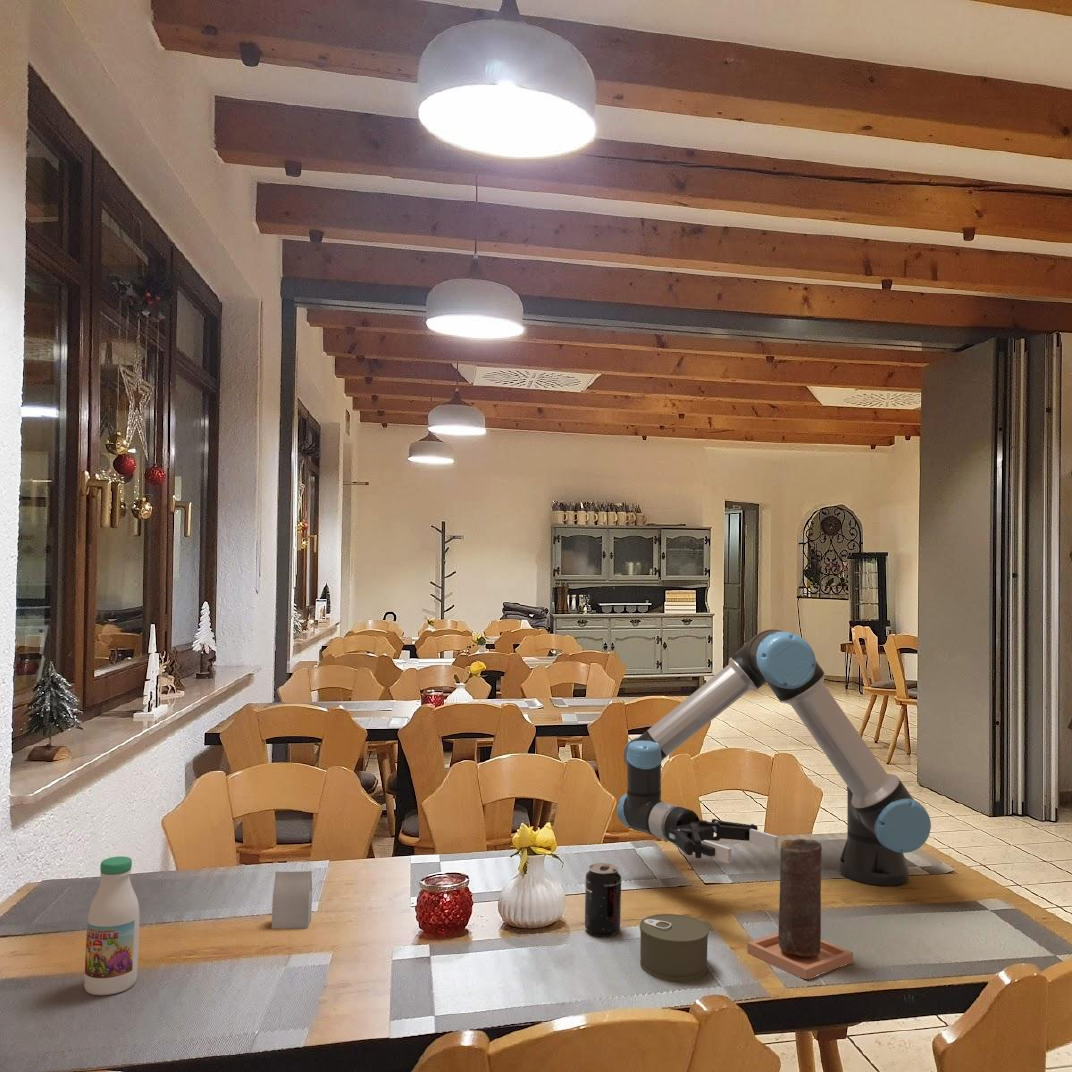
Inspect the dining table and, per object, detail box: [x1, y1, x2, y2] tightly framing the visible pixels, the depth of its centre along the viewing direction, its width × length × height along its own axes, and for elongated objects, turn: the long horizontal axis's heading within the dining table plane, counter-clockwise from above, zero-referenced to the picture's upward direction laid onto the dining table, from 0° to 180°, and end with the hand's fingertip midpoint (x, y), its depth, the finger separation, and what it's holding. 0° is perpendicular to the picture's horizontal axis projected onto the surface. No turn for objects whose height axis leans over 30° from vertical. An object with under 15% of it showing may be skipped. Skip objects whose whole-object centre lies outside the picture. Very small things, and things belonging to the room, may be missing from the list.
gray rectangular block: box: [271, 870, 313, 930], centre depth 168 cm, size 4×7×10 cm, turn 95°
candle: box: [778, 838, 823, 957], centre depth 158 cm, size 8×7×20 cm
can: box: [639, 913, 710, 983], centre depth 153 cm, size 12×12×7 cm
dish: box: [746, 932, 854, 980], centre depth 158 cm, size 13×13×2 cm
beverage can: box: [584, 862, 622, 937], centre depth 168 cm, size 7×7×12 cm
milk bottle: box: [83, 855, 140, 996], centre depth 142 cm, size 8×8×20 cm
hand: (753, 849), depth 169 cm, fingers open, 13 cm apart
